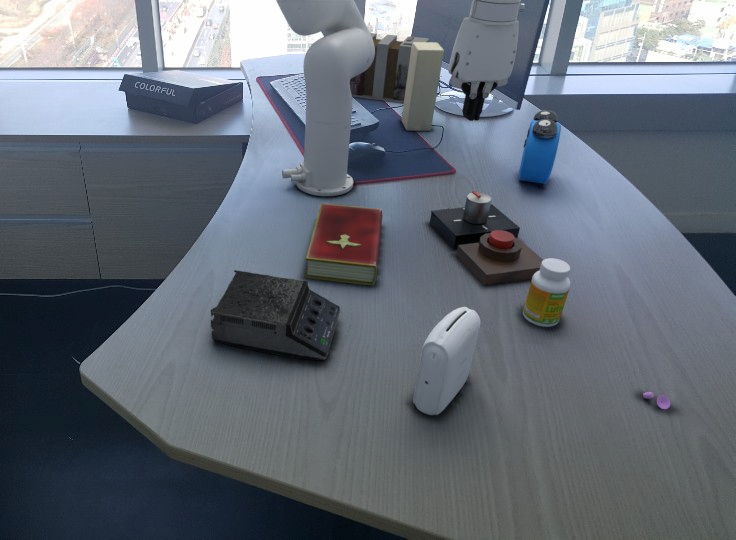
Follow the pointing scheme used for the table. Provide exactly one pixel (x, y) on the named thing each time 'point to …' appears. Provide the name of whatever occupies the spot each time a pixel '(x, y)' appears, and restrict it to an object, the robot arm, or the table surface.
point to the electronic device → (275, 317)
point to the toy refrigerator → (422, 85)
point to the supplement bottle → (547, 293)
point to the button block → (499, 261)
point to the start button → (501, 239)
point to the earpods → (659, 400)
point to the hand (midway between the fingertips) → (470, 117)
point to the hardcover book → (345, 244)
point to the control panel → (468, 226)
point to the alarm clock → (540, 148)
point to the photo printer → (446, 360)
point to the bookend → (386, 70)
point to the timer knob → (477, 208)
